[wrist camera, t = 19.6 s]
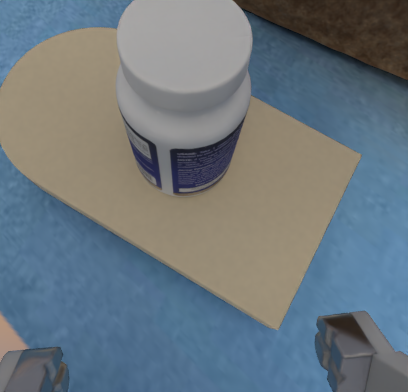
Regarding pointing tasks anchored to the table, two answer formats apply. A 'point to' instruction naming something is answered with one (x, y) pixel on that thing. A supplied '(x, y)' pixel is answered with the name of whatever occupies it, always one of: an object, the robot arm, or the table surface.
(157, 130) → the pill bottle
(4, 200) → the table surface
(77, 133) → the beige rounded board
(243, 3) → the bread
